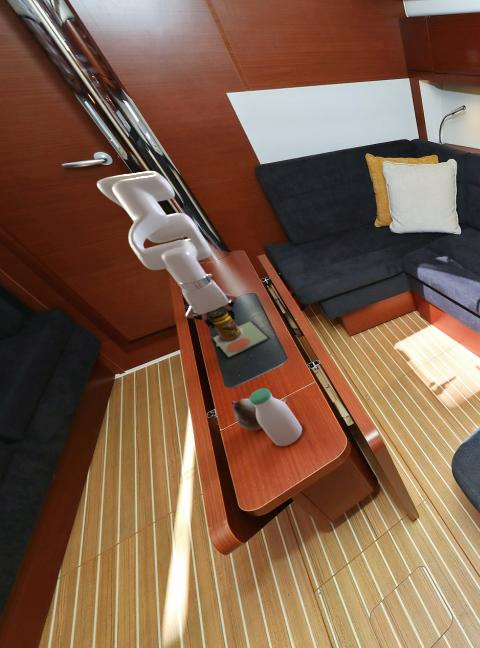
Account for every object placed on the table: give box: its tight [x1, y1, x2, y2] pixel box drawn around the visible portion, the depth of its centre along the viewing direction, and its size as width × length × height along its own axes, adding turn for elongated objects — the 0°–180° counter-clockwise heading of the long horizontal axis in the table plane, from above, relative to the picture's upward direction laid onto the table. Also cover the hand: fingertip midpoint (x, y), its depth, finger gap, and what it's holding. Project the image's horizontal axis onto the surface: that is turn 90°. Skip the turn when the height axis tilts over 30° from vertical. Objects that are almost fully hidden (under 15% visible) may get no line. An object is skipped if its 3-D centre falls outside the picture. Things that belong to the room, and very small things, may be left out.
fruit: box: [230, 398, 263, 432], centre depth 100 cm, size 10×9×12 cm
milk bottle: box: [249, 387, 303, 447], centre depth 94 cm, size 8×8×20 cm
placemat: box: [212, 320, 269, 359], centre depth 135 cm, size 18×14×1 cm
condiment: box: [208, 308, 243, 347], centre depth 124 cm, size 7×8×12 cm
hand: (222, 321), depth 124 cm, fingers closed on condiment, 6 cm apart
